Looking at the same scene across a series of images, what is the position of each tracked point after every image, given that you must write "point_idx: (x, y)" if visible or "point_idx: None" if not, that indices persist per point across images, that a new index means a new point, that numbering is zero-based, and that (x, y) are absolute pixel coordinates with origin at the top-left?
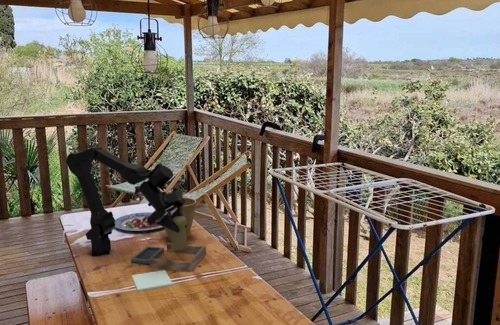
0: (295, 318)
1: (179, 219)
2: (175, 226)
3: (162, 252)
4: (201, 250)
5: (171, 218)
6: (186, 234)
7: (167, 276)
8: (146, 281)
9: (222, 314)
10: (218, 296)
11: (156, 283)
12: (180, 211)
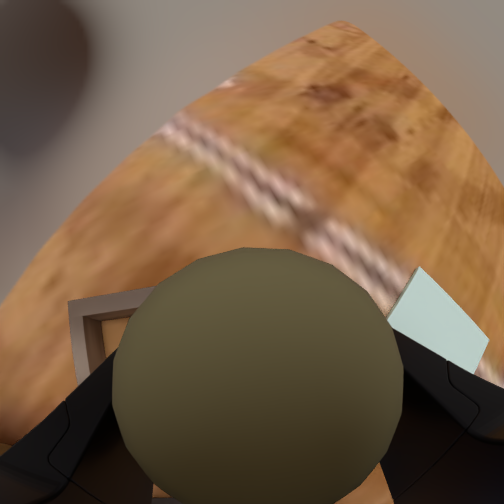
0: (349, 24)
1: (366, 315)
2: (407, 338)
3: (165, 499)
4: (120, 296)
5: (478, 425)
6: (2, 446)
7: (390, 321)
8: (449, 360)
9: (425, 100)
10: (381, 120)
11: (445, 317)
12: (12, 484)
